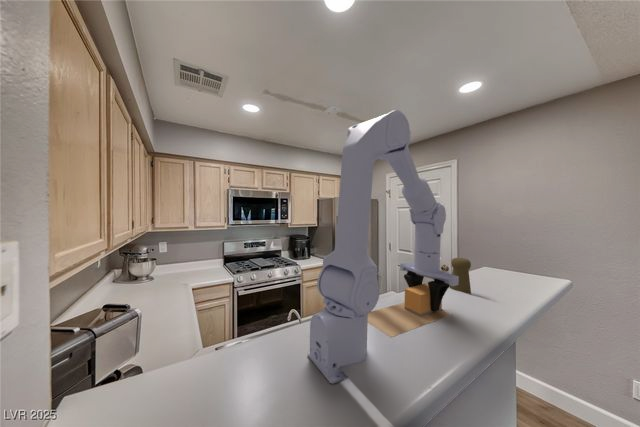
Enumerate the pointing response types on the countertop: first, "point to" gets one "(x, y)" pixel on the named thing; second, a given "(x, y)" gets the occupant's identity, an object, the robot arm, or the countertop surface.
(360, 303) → the robot arm
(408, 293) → the block
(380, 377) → the countertop surface
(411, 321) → the pine board
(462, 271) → the cork
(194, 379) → the countertop surface
